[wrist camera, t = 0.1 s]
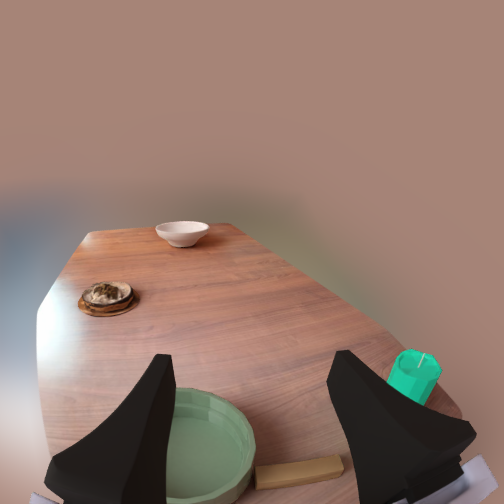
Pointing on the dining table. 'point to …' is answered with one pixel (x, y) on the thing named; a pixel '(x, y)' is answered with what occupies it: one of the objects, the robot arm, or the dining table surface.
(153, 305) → the dining table surface
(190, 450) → the mixing bowl
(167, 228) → the bowl
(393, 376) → the candle
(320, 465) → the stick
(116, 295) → the brown mottled round dish
